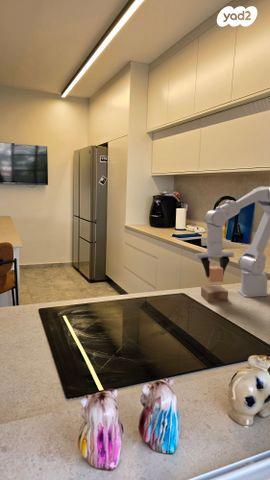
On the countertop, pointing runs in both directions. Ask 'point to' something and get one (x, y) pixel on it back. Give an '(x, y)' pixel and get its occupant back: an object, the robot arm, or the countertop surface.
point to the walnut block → (214, 293)
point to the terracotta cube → (215, 274)
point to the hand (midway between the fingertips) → (214, 276)
